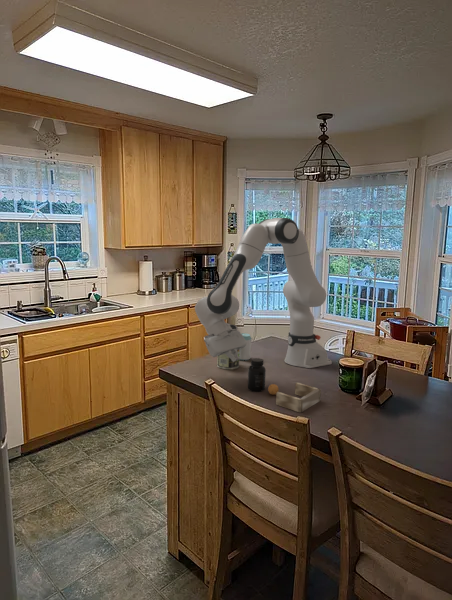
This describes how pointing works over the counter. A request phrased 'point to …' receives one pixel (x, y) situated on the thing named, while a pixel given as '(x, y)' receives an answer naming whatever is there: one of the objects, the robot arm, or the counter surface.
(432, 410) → the counter surface
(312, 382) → the counter surface
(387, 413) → the counter surface
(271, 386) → the ball
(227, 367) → the coffee can
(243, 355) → the teal lidded jar
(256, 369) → the supplement bottle
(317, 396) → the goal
